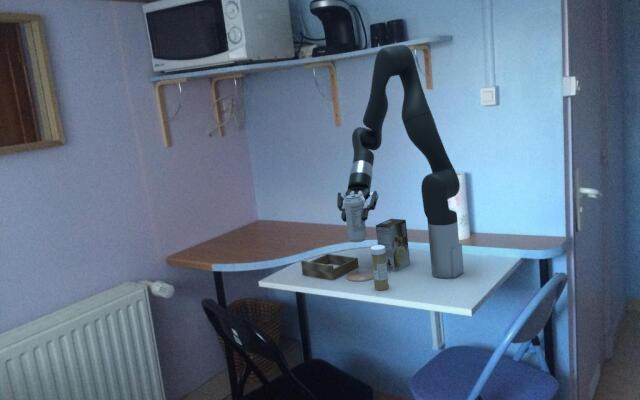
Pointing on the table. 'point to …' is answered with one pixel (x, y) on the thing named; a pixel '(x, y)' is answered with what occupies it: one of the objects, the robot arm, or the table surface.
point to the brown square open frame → (329, 266)
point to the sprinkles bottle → (379, 267)
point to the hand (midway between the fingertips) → (353, 220)
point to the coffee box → (394, 243)
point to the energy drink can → (355, 218)
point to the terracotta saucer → (360, 275)
